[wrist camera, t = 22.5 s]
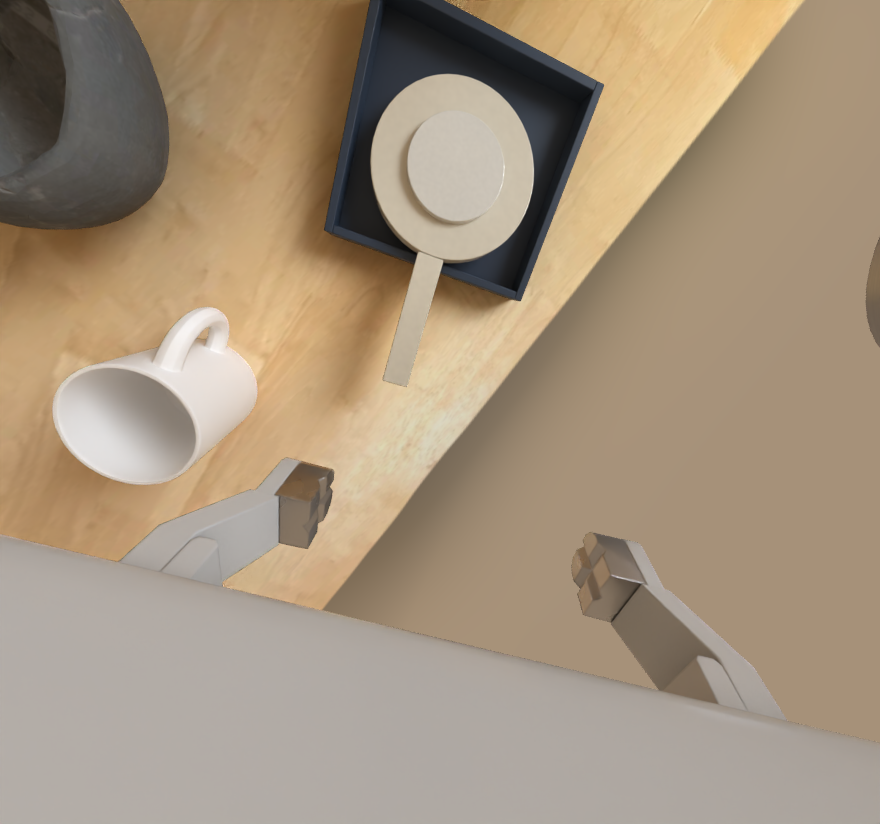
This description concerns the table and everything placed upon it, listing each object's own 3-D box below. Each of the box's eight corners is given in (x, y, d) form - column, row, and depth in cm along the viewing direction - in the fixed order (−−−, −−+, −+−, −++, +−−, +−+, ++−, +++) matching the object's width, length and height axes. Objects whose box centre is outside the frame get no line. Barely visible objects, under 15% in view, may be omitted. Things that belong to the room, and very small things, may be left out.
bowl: (-88, -31, 21) (-475, -276, 12) (173, -19, 22) (9, -233, 13) (22, 241, 26) (-186, 220, 17) (228, 238, 28) (139, 218, 18)
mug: (192, 277, 28) (84, 276, 19) (291, 329, 30) (239, 351, 21) (149, 400, 31) (37, 454, 22) (242, 439, 34) (177, 503, 24)
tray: (586, 102, 27) (604, 84, 24) (511, 299, 31) (520, 301, 29) (379, -4, 24) (376, -36, 21) (330, 234, 28) (323, 230, 26)
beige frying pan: (549, 127, 27) (560, 112, 25) (462, 401, 30) (467, 405, 28) (396, 54, 24) (397, 32, 22) (320, 361, 27) (315, 362, 26)
